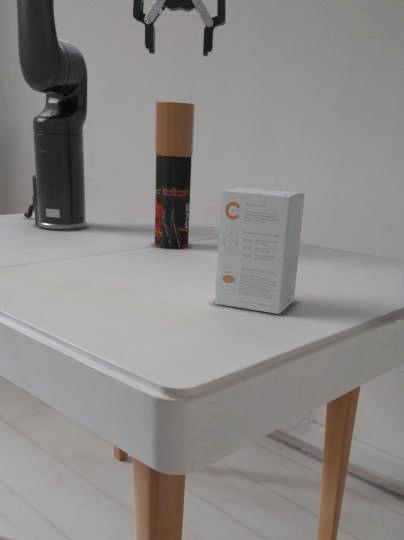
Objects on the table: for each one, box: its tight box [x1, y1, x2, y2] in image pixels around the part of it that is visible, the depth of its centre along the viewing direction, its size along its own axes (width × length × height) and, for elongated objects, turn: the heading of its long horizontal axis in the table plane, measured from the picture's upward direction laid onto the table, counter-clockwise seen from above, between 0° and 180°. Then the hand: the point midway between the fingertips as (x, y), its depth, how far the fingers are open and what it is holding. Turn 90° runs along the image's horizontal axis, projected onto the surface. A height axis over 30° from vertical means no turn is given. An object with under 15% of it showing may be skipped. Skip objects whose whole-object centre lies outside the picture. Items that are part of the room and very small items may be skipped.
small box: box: [214, 187, 305, 315], centre depth 65 cm, size 8×6×13 cm
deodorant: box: [154, 155, 193, 250], centre depth 97 cm, size 6×6×15 cm
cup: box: [154, 101, 196, 158], centre depth 93 cm, size 6×6×8 cm
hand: (178, 54), depth 89 cm, fingers open, 8 cm apart
